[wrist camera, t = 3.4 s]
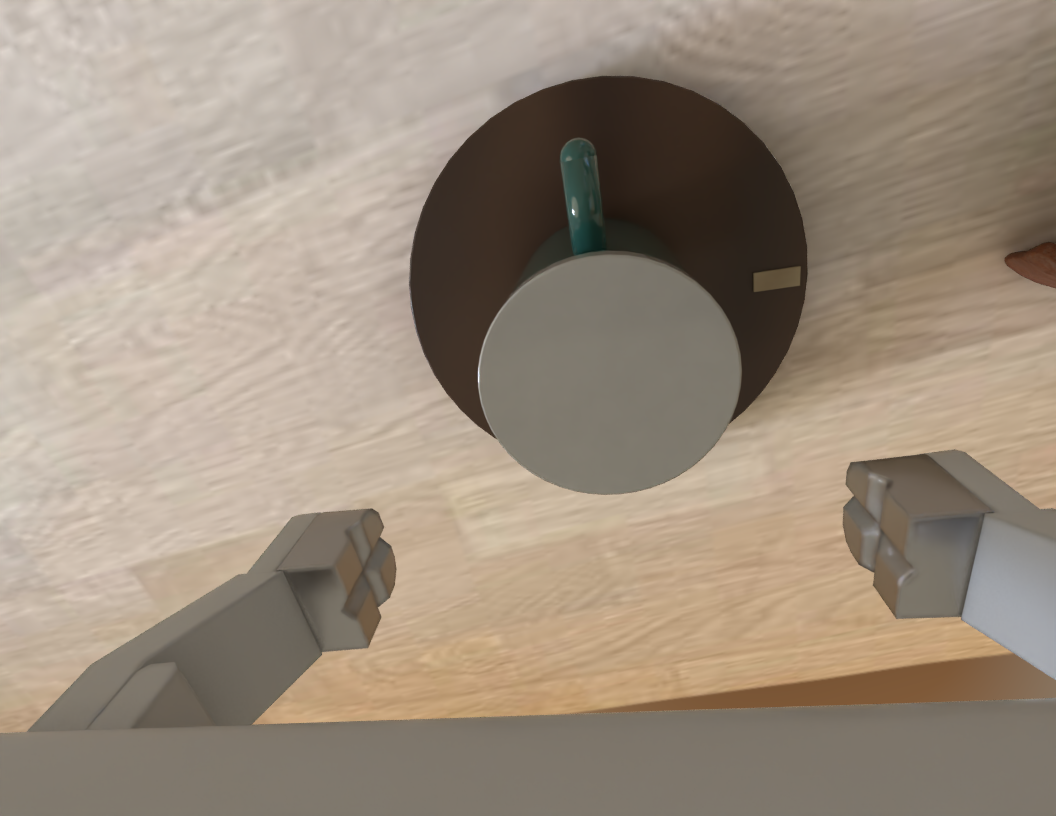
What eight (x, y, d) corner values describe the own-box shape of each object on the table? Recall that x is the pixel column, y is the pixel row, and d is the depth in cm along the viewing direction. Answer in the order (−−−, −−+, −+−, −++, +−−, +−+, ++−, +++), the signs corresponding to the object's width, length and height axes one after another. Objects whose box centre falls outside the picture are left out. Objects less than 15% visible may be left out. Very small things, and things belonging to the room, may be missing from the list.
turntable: (802, 34, 17) (821, 24, 16) (787, 434, 24) (800, 452, 22) (373, 128, 20) (356, 127, 18) (465, 466, 26) (457, 485, 25)
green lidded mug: (680, 119, 17) (741, 102, 10) (693, 374, 21) (743, 484, 14) (484, 158, 18) (423, 167, 11) (530, 394, 22) (504, 505, 15)
